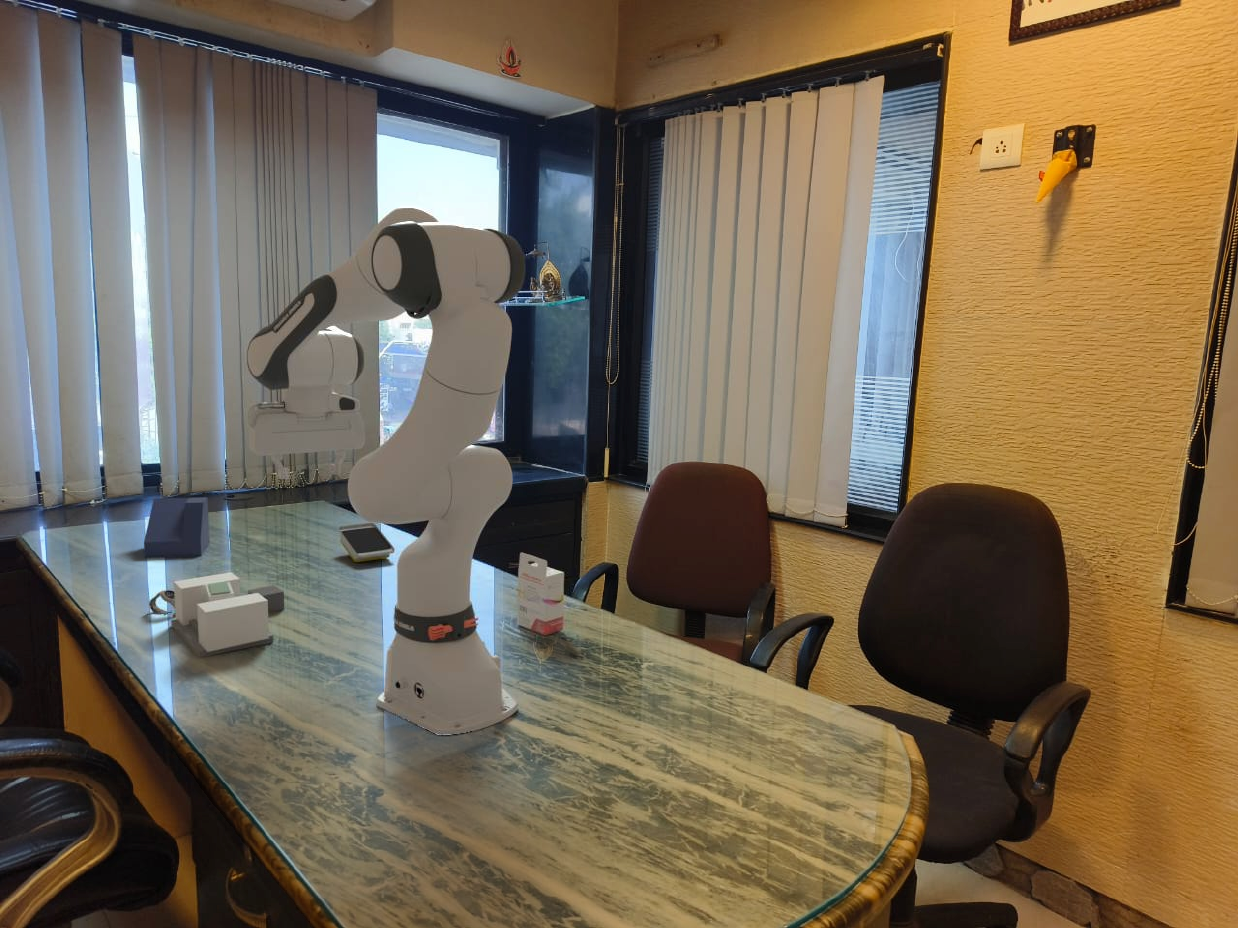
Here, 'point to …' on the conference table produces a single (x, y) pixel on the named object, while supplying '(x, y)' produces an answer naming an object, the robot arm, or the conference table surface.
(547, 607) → the ink cartridge box
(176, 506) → the phone stand
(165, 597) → the wristwatch
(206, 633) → the rail base
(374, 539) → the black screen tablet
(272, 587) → the grey cube-like block
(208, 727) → the conference table surface
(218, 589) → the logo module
